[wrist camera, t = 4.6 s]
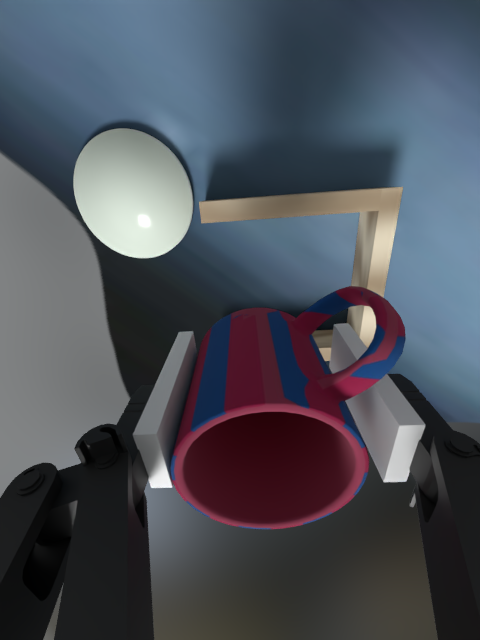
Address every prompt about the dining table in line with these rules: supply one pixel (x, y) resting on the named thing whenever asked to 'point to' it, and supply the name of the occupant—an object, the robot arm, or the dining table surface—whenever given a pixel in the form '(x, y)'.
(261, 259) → the dining table surface
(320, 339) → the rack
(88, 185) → the white round flat disc
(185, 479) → the mug
